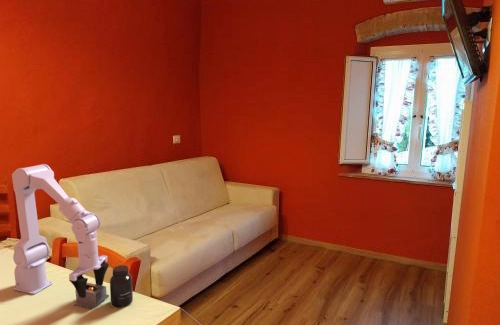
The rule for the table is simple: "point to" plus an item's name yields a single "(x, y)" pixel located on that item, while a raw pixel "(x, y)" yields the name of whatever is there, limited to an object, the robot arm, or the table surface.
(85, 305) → the keeper
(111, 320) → the table surface
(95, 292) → the hollow rectangular frame
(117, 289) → the supplement bottle
